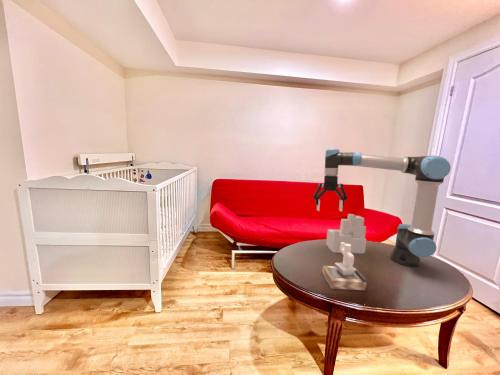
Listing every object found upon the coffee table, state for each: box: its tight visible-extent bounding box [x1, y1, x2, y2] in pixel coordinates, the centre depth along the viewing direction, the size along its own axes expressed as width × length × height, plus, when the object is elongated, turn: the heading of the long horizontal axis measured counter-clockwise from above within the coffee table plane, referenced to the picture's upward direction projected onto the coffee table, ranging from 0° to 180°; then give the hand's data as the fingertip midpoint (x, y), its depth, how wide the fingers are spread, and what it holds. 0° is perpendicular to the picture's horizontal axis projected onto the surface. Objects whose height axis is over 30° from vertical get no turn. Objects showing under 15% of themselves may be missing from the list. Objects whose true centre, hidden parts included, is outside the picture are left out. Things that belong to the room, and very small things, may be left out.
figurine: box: [334, 242, 358, 275], centre depth 107 cm, size 7×9×15 cm
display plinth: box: [321, 264, 368, 291], centre depth 109 cm, size 16×14×6 cm
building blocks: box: [325, 213, 368, 254], centre depth 147 cm, size 22×12×25 cm, turn 92°
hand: (329, 210), depth 130 cm, fingers open, 13 cm apart
